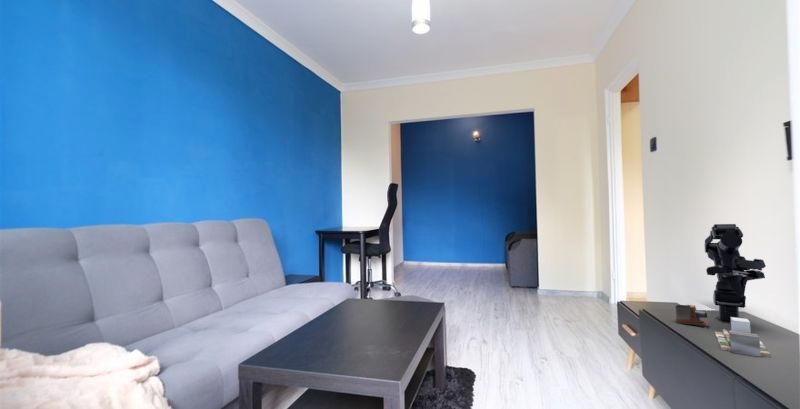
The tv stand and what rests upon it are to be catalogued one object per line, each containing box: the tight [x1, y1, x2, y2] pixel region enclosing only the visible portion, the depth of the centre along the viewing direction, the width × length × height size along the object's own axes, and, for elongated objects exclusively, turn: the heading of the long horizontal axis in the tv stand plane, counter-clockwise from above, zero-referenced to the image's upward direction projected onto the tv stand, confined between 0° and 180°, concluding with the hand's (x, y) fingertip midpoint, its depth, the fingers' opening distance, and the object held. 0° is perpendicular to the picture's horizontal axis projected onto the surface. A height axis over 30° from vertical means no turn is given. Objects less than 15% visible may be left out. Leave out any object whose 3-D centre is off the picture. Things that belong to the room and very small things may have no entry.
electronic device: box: [675, 304, 710, 328], centre depth 133 cm, size 4×10×8 cm, turn 44°
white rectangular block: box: [718, 317, 752, 339], centre depth 111 cm, size 4×8×8 cm, turn 52°
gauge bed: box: [714, 328, 772, 358], centre depth 112 cm, size 17×11×6 cm, turn 142°
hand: (741, 296), depth 123 cm, fingers closed
